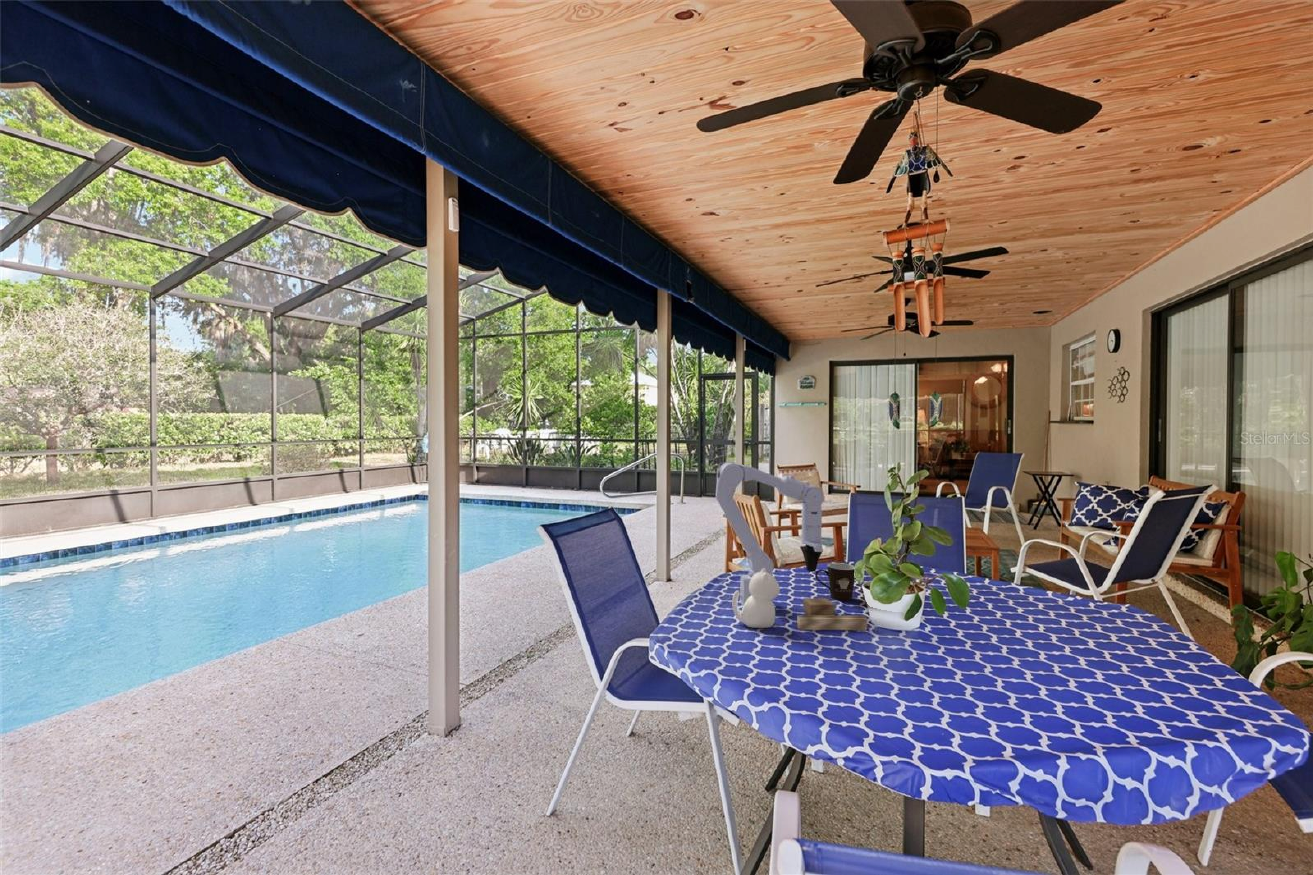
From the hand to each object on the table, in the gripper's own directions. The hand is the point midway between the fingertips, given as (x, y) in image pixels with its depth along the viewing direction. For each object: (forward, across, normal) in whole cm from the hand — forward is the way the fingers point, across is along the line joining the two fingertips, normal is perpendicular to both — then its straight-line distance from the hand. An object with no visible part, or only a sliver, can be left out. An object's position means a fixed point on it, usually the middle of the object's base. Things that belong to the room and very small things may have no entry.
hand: (811, 570), depth 176 cm
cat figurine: (+10, -18, +20) cm, 29 cm away
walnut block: (+11, -8, 0) cm, 14 cm away
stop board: (+10, -20, 0) cm, 23 cm away
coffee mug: (+11, +9, -11) cm, 17 cm away
